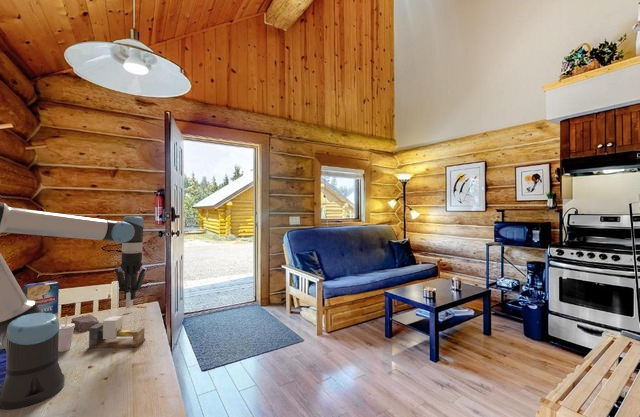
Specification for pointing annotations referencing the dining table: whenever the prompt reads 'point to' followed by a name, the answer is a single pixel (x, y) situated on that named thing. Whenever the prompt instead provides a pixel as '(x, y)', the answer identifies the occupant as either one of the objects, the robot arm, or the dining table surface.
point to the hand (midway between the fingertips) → (129, 307)
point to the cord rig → (99, 342)
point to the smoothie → (65, 336)
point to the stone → (84, 322)
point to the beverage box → (44, 295)
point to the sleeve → (112, 327)
